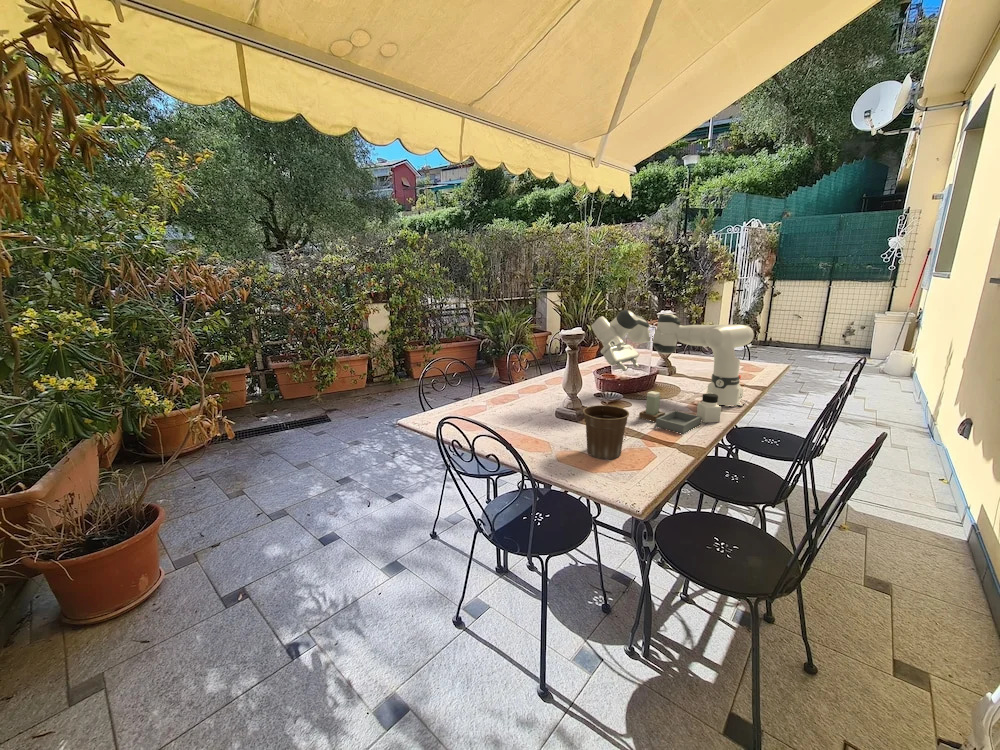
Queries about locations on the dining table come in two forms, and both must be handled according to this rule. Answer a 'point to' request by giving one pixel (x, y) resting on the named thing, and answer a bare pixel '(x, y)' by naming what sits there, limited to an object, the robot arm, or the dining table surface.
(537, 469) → the dining table surface
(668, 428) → the tray
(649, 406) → the green rectangular block
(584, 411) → the plant pot
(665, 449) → the dining table surface
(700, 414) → the medicine bottle
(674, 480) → the dining table surface
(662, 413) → the tray
